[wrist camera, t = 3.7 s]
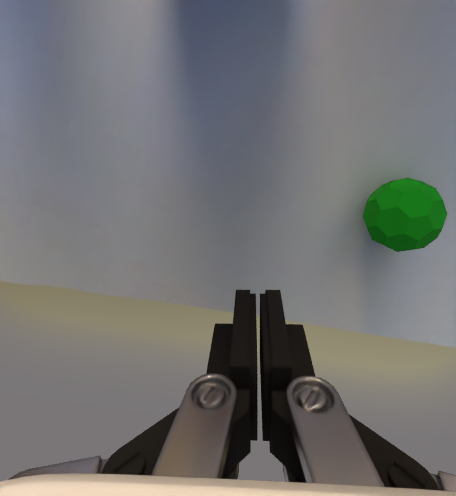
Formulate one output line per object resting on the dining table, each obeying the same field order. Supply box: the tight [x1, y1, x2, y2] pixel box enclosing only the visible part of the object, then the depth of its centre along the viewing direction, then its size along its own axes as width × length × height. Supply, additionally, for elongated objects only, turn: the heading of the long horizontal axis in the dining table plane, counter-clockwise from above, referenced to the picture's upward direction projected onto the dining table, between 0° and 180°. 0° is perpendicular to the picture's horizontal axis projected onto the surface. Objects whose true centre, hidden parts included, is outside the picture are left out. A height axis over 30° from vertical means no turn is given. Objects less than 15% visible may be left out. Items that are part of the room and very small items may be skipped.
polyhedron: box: [363, 178, 447, 252], centre depth 22 cm, size 5×5×5 cm
